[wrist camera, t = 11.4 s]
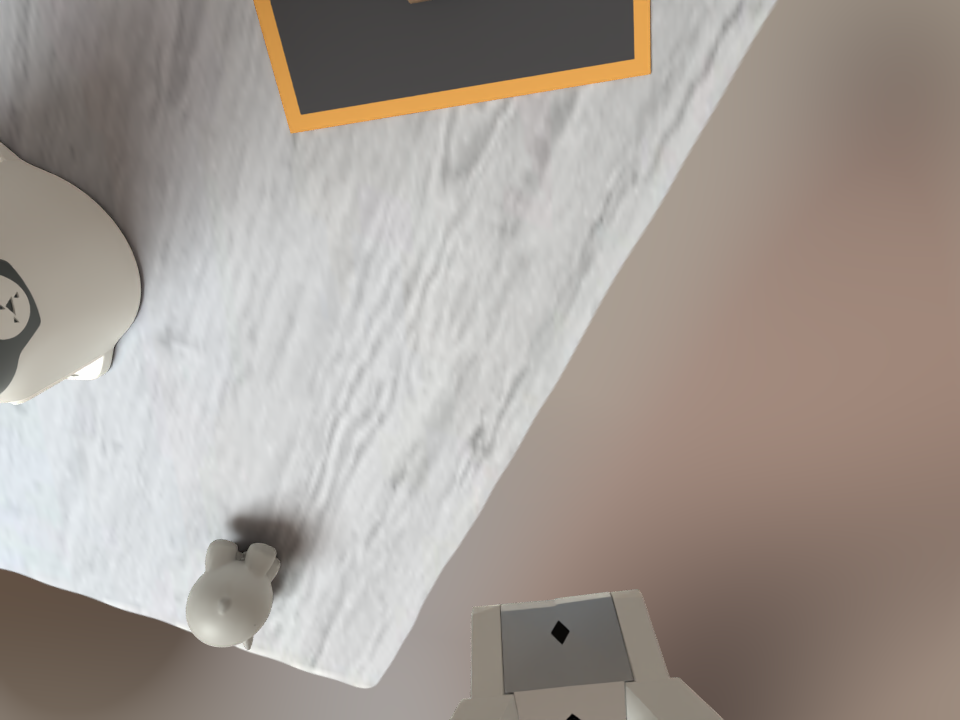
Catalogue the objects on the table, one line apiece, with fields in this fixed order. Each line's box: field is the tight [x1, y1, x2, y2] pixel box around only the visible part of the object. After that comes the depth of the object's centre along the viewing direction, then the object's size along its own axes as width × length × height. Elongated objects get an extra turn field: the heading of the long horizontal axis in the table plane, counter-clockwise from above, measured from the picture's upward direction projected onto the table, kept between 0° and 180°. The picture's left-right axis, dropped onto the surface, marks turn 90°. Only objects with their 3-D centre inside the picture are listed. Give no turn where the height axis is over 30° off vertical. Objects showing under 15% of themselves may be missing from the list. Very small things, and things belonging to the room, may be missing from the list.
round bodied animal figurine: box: [186, 539, 281, 650], centre depth 52 cm, size 7×12×8 cm, turn 169°
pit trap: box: [253, 0, 651, 133], centre depth 34 cm, size 24×9×1 cm, turn 99°
